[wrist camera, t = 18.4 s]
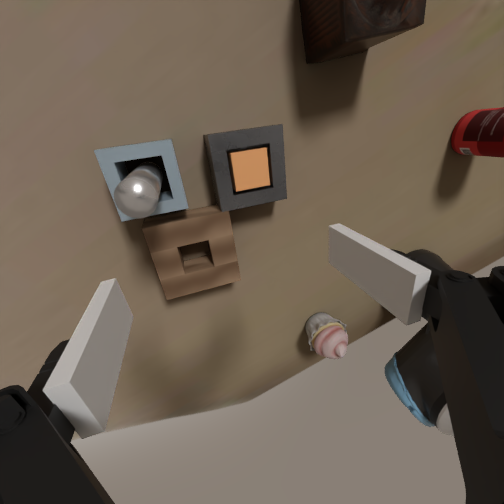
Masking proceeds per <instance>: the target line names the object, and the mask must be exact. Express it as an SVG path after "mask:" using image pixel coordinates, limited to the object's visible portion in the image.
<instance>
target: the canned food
mask: <svg viewBox="0 0 504 504" xmlns="http://www.w3.org/2000/svg"><path fill="white" fill-rule="evenodd" d="M451 145H452V148H453V150H454V151H455V152H457V153H459V154H463V155H477V156H491V157H504V107H503V108H492V109H481V110H475V111H472V112H469V113H467V114H466V115H464V116H463V117H462V118H461V119H460V120H459V122H458V123H457V124H456V126H455V128H454V130H453V133H452V137H451Z"/></svg>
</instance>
